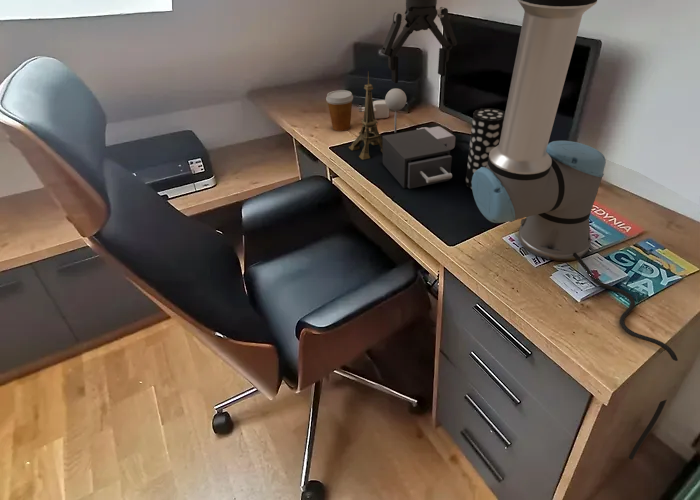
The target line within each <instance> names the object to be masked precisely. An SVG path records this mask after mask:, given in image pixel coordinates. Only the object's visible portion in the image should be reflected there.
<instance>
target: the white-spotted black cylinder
mask: <svg viewBox="0 0 700 500" xmlns="http://www.w3.org/2000/svg"><path fill="white" fill-rule="evenodd" d="M504 116H505V111H504V110H502V109H498V108H491V107H489V108H487V107H486V108H479V109H476V110H475V111H473V114H472V122H471V130H470V131H471V132H470V140H469V148H468V157H467V166H466V174H465V182H464V183H465V186H466V187H468V188H469V189H471V190H472V177H473V174H474V172H475V171H477V170H478V169H480V168H481V167H486V166H487V163H488V157H489V153H490V151H491V150H492V149H493V148H494V147H496V146H498V145H499V142H500V137H501V132H502V127H503V122H504Z"/></svg>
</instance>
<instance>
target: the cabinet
mask: <svg viewBox="0 0 700 500" xmlns="http://www.w3.org/2000/svg"><path fill="white" fill-rule="evenodd" d="M382 140H383V153H382V165H383V166H384V167H385V168H386V169H387V171H388V172H389V173H390V174H391V176H392V177H393V178H394V179H395V180H396V181H397V182H398V183H399V184H400V186H401V187H402V188H403V189H409V188H408V183H407V161H409V160H415V159H420V158H425V157H430V156H435V155H440V154H445V156H447V155H451V150H450V149H448V148H447V147H446V146H445V145H444V144H442V143H441V142H440V141H439V140H438V139H436V138H435V137H434V136H433V135H432V134H430V133H429V132H428V131H427V130H426V129H419V128H418V130H417V129H413V130H408V131H407V130H406V131H402V132H396V133H391V134H385V135H382Z"/></svg>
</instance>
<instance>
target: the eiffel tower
mask: <svg viewBox="0 0 700 500" xmlns="http://www.w3.org/2000/svg"><path fill="white" fill-rule="evenodd" d="M363 89H364V90H365V100H364V107H365V109H363V110H364V112H363V118H362V119H361V120H360V122H361V129H360V132H358V134H359V135H357V137H356V138H355V140H353V142H352V143H351V145H350V146H349V145H348V149H349V150H350V151H351V152H352V151H357V150H360V149H361V147H360V146H361V144H362V142H363V144H364V145H363V147H362V150H361V151H360V154H359V155H358V158H359V159H360V160H362V161H364V160H368V159H371V156H370V153H369V145H370V144H371V145H372V146H377V145H378V146H379V148H380V152H381V153H382V154H383V138H382V137H381V134H380V132H379V128H378V125H377V124H379V122H378V120H377V119H375V115H374V108H373V101H374V100H373V93H372V90H374V87H373V84H371V83H370V76H369V72H367V84H364V87H363Z"/></svg>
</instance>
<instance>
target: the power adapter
mask: <svg viewBox="0 0 700 500" xmlns="http://www.w3.org/2000/svg"><path fill="white" fill-rule="evenodd" d="M372 101H373V108H374V115H375V120H377V119H387V118H389V117H390V109H389V108H388V107H387V105H386V103H385V99H380V100H372ZM364 110H365V106H359V107H358V112H359V113H362V112H363V113H364Z"/></svg>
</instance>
